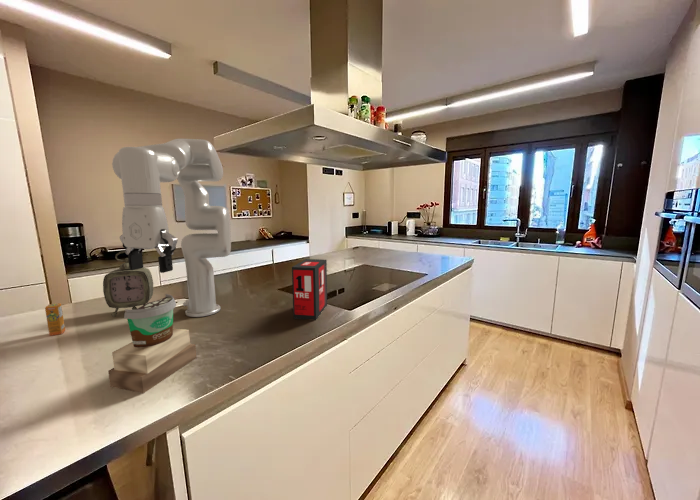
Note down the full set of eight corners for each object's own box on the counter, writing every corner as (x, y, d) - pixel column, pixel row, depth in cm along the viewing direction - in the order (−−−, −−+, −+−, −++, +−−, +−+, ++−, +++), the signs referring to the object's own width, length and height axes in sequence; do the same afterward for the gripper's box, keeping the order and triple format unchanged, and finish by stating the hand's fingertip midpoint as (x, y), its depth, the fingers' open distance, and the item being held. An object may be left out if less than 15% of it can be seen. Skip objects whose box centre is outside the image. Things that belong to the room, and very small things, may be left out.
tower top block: (114, 370, 68) (112, 352, 68) (161, 342, 82) (160, 327, 81) (147, 373, 67) (145, 355, 66) (190, 344, 80) (188, 329, 80)
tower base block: (110, 388, 69) (108, 370, 68) (167, 354, 84) (166, 340, 83) (143, 395, 66) (141, 376, 66) (196, 359, 82) (195, 344, 81)
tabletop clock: (107, 318, 110) (98, 253, 106) (114, 310, 118) (106, 250, 114) (152, 313, 115) (145, 251, 112) (156, 305, 124) (150, 248, 120)
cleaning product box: (307, 304, 126) (306, 259, 123) (327, 305, 124) (326, 259, 121) (293, 318, 110) (291, 267, 107) (316, 320, 108) (315, 268, 105)
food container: (149, 353, 67) (145, 313, 65) (127, 349, 69) (123, 310, 67) (189, 330, 79) (186, 295, 77) (170, 327, 80) (167, 293, 79)
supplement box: (48, 336, 95) (43, 307, 93) (53, 332, 98) (48, 304, 96) (62, 334, 96) (57, 305, 95) (66, 330, 99) (61, 302, 98)
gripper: (100, 201, 69) (110, 271, 72) (157, 201, 64) (165, 276, 67) (132, 201, 76) (139, 265, 79) (184, 201, 71) (191, 269, 74)
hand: (151, 270), depth 73 cm, fingers open, 9 cm apart
